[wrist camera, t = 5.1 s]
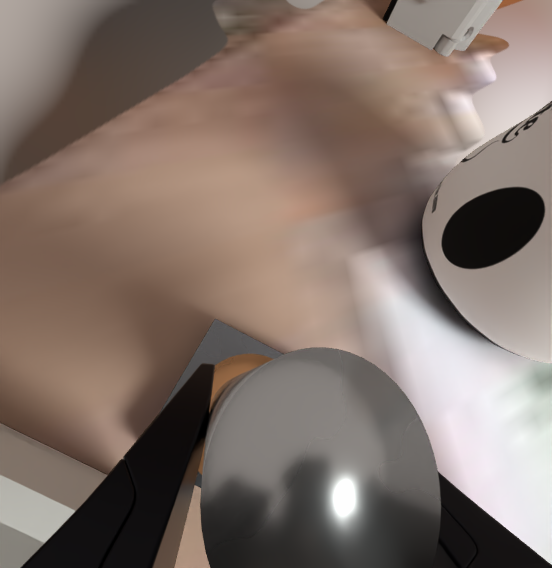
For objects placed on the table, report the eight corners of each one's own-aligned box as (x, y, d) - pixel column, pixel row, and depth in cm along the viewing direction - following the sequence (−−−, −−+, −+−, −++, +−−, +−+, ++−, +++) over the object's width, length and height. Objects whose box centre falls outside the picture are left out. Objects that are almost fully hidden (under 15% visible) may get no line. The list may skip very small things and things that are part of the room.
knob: (274, 484, 12) (512, 834, 2) (170, 455, 11) (-4, 755, 2) (300, 376, 14) (480, 352, 5) (212, 347, 13) (219, 254, 4)
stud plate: (267, 509, 13) (274, 523, 12) (142, 448, 13) (134, 455, 11) (315, 376, 16) (324, 375, 15) (214, 324, 16) (215, 318, 14)
